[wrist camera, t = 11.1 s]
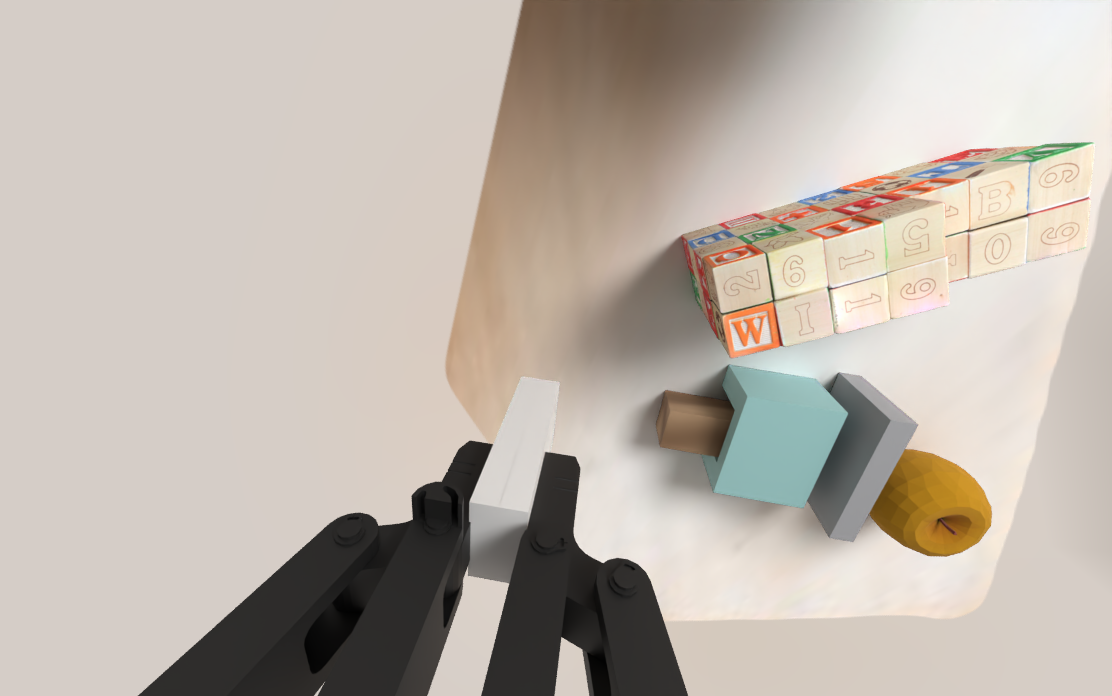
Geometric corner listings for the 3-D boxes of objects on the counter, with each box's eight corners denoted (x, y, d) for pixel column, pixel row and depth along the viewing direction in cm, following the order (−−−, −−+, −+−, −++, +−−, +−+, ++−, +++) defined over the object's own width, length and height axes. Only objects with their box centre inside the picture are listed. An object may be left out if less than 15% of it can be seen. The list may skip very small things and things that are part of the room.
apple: (945, 487, 44) (1022, 562, 35) (854, 510, 46) (907, 585, 38) (931, 418, 41) (1011, 482, 33) (834, 446, 43) (887, 513, 35)
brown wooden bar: (665, 388, 43) (670, 410, 39) (768, 406, 42) (783, 430, 39) (655, 423, 44) (659, 446, 41) (754, 440, 44) (768, 466, 40)
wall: (839, 372, 40) (891, 420, 33) (861, 376, 40) (918, 424, 33) (793, 476, 45) (829, 537, 38) (812, 479, 45) (853, 542, 37)
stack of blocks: (970, 145, 32) (1165, 138, 21) (969, 228, 34) (1146, 262, 23) (679, 235, 37) (710, 268, 26) (694, 303, 39) (730, 361, 28)
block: (728, 364, 41) (747, 396, 35) (815, 379, 40) (848, 413, 35) (700, 451, 45) (713, 492, 39) (779, 465, 45) (803, 508, 39)
